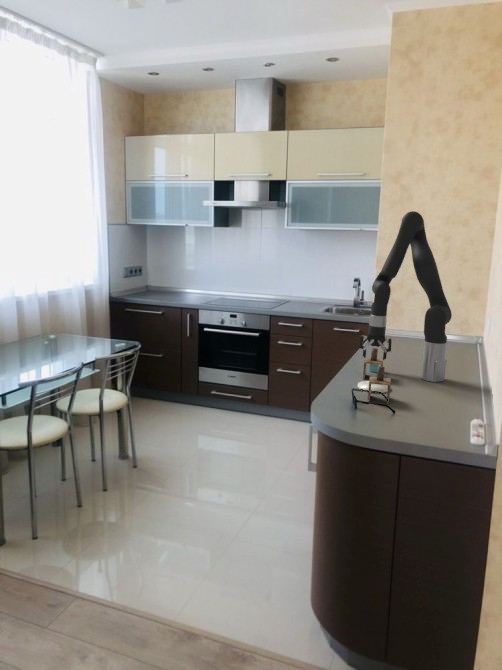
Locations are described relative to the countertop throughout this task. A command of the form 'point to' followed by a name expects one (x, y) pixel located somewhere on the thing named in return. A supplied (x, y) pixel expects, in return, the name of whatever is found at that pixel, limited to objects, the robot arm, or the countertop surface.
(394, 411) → the countertop surface
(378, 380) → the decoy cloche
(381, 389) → the saucer
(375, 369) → the block
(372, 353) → the brown forked piece
